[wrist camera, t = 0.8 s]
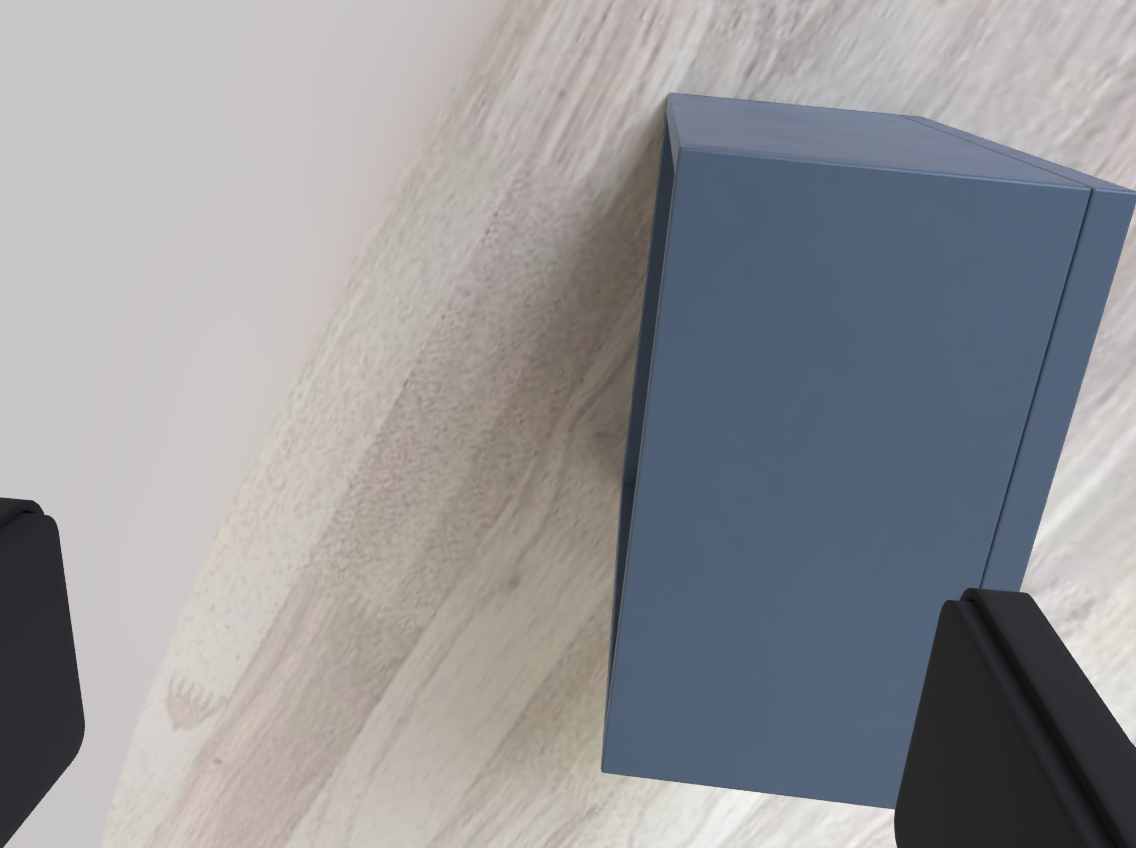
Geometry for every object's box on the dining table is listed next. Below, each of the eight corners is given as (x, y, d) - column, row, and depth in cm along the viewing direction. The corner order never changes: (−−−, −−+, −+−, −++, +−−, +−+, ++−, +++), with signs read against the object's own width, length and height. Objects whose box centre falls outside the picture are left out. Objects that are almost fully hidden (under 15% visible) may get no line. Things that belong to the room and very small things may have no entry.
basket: (620, 490, 37) (600, 773, 23) (668, 92, 31) (679, 146, 18) (838, 515, 36) (952, 817, 23) (923, 117, 31) (1140, 192, 17)
